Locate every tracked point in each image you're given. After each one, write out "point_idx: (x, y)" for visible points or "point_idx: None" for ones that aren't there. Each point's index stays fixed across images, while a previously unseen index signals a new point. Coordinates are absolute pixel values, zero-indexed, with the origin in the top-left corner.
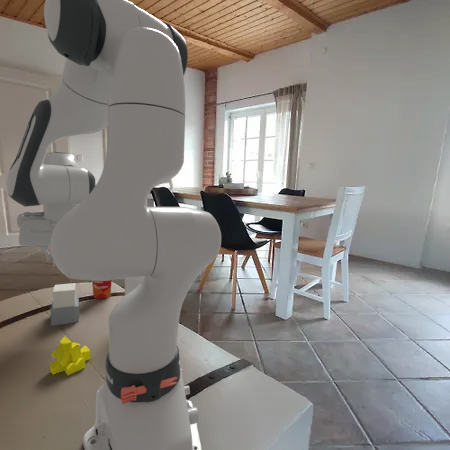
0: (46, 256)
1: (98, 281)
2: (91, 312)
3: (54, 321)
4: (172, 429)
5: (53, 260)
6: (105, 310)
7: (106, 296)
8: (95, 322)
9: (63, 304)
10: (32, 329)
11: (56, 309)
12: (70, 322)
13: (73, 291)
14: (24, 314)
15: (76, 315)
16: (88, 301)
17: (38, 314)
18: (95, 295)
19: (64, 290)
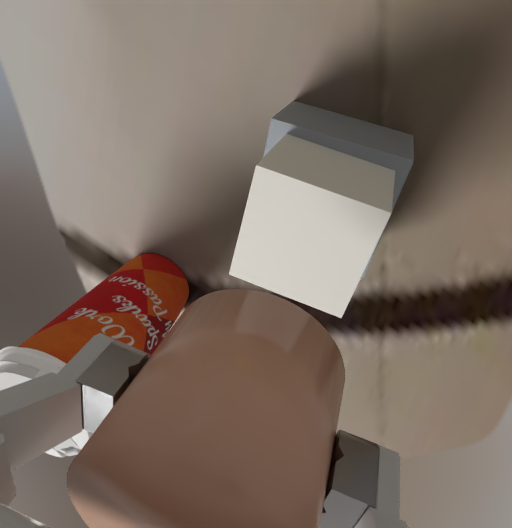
0: (398, 503)
1: (129, 308)
2: (224, 161)
3: (397, 135)
4: None
5: (334, 422)
6: (168, 142)
7: (141, 256)
8: (230, 41)
9: (341, 159)
10: (495, 151)
11: (383, 151)
12: (329, 111)
13: (267, 164)
14: (465, 314)
15: (295, 110)
16: (214, 269)
17: (418, 280)
18: (178, 282)
19: (317, 191)
